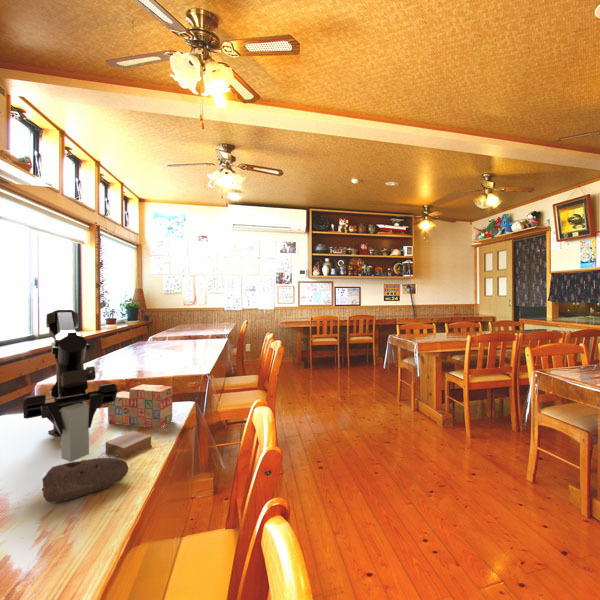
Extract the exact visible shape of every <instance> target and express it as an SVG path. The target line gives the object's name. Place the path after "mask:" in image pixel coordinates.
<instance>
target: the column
mask: <svg viewBox="0 0 600 600" xmlns="http://www.w3.org/2000/svg"><path fill="white" fill-rule="evenodd" d="M88 408H89V404H85V403H83V404H82V403H77V404H73V405H70V406H66V407H62V408H61V422H62V431H63V433H62V435H61V436H60V441H61V442H60V443H61V445H60V447H61V448H60V449H61V450H60V451H61V453H60V454H61V459H63V460H64V461H67V462H68V463H71V462H75V461H76V460H79V459H81V458H83V457H86V456H88V455H89V454H90V433H89V432H90V431H89V429H90V428H89V410H88Z"/></svg>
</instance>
